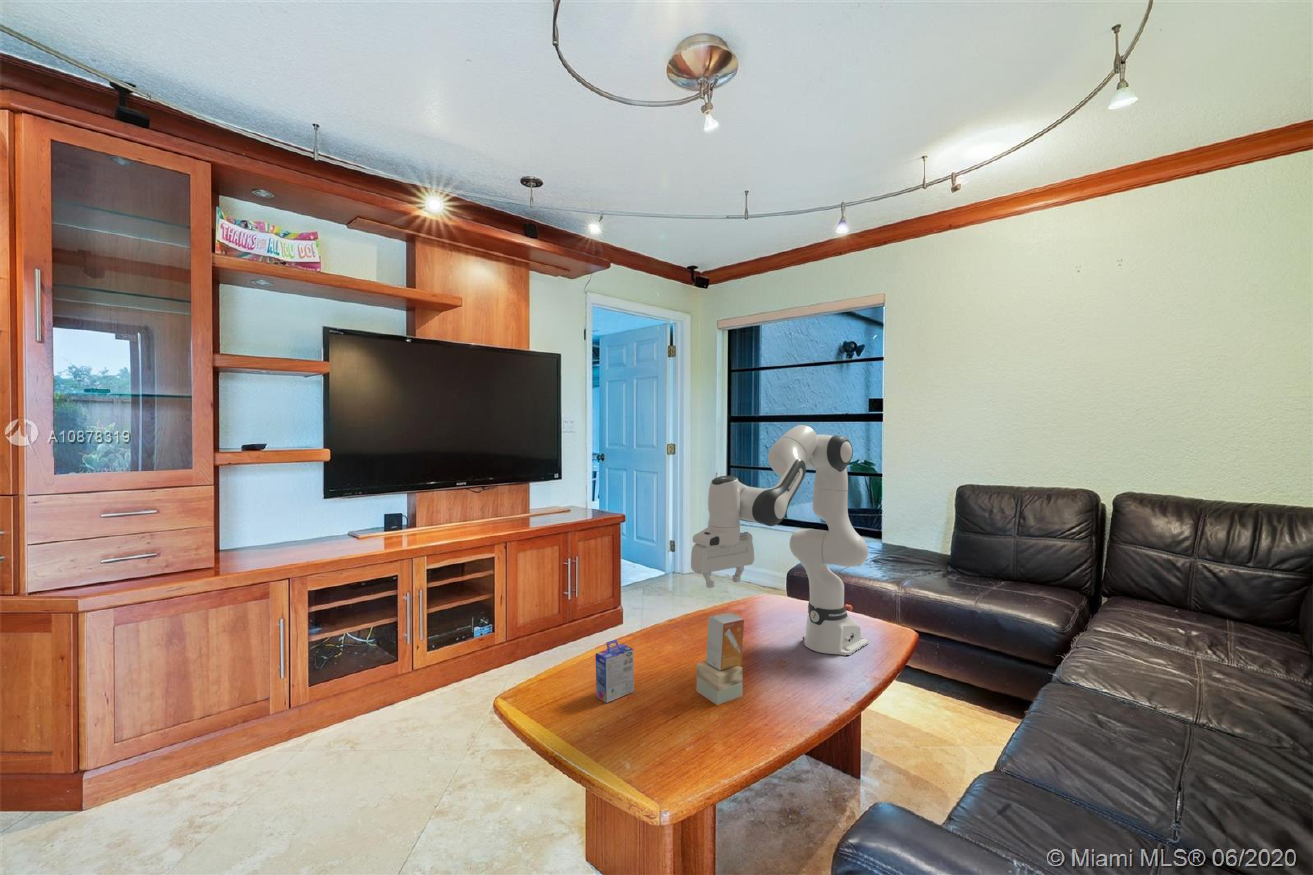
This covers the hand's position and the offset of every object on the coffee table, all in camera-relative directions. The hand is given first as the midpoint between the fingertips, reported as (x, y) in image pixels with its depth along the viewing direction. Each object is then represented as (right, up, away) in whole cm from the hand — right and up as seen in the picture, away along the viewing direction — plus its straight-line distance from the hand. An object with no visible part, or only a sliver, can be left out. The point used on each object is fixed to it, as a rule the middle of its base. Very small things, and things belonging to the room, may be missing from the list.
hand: (723, 584), depth 152 cm
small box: (0, -23, +1) cm, 23 cm away
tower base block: (-1, -31, 0) cm, 31 cm away
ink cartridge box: (-30, -31, 0) cm, 43 cm away
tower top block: (-1, -27, 0) cm, 27 cm away
